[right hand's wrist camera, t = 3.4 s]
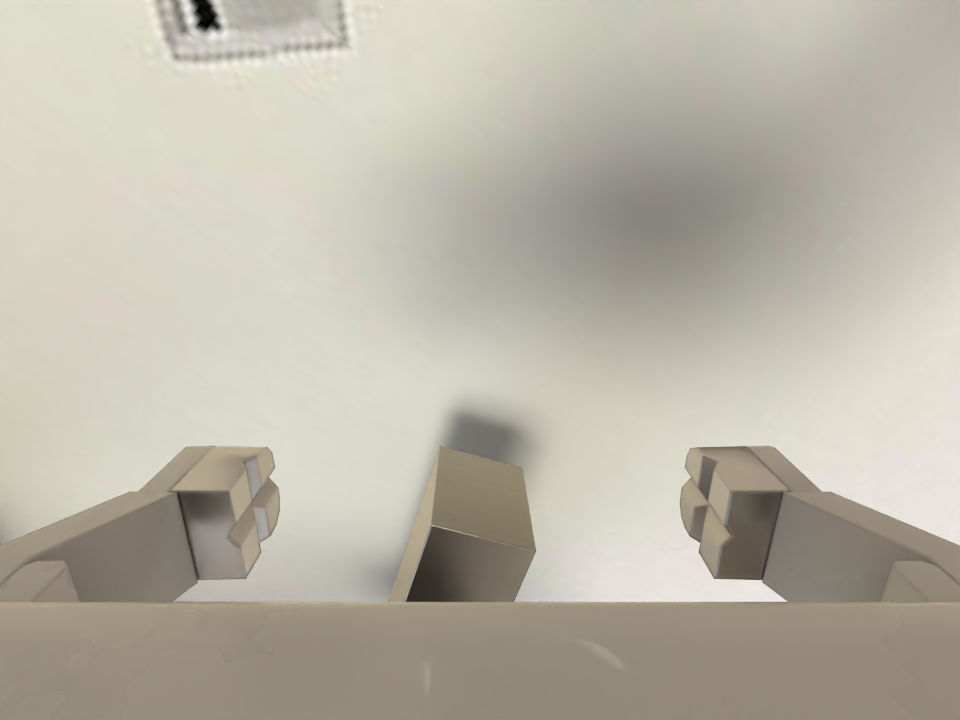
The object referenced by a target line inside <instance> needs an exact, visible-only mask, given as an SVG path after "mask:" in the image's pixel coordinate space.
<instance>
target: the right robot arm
mask: <svg viewBox="0 0 960 720" xmlns="http://www.w3.org/2000/svg"><path fill="white" fill-rule="evenodd" d="M274 469H275V464H274V459H273V454H272V452H271V450H270V449H269V448H268V447H230V446H217V447H216V446H191V447H185V448H184V449H183V450H182V451H181V452H180V453H179V454H178V455H177V456H176V457H175V458H174V459H173V460H172V461H170V462H169V463H168V464H167V465H166V466H165V467H164V468H163V469H162V470H161V471H160V472H159V473H158V474H157V475H155V476H154V477H153V478H152V479H151V480H150V481H149V482H148V483H147V484H146V485H145V486H144V487H143V488H142V489H141V490H139V491H138V492H128V493H125V494H123V495H121V496H118V497H116V498H113V499H111V500H109V501H106V502H104V503H101V504H99V505H97V506H94V507H92V508H89V509H87V510H84V511H82V512H80V513H77V514H75V515H72V516H70V517H68V518H65V519H63V520H60V521H58V522H56V523H53V524H51V525H48V526H46V527H44V528H41V529H39V530H36V531H34V532H32V533H29V534H27V535H24V536H22V537H19V538H17V539H15V540H12V541H10V542H7V543H5V544H3V545H0V720H960V546H959V545H957V544H955V543H952V542H950V541H947V540H945V539H943V538H940V537H938V536H935V535H933V534H931V533H928V532H926V531H923V530H921V529H919V528H916V527H914V526H911V525H909V524H907V523H904V522H902V521H899V520H897V519H895V518H892V517H890V516H887V515H885V514H883V513H880V512H878V511H875V510H873V509H871V508H868V507H866V506H863V505H861V504H859V503H856V502H854V501H851V500H849V499H847V498H844V497H842V496H839V495H837V494H835V493H832V492H822V491H821V490H820V489H818V488H817V487H816V486H815V485H814V484H813V483H812V482H811V481H810V480H809V479H808V478H807V477H806V476H805V475H804V474H802V473H801V472H800V471H799V470H798V469H797V468H796V467H795V466H794V465H793V464H792V463H791V462H790V461H789V460H788V459H786V458H785V457H784V456H783V455H782V454H781V453H780V452H779V451H778V450H777V449H776V448H774V447H771V446H737V447H696V448H690V450H689V452H688V454H687V458H686V463H685V469H686V470H687V472H688V473H689V475H690V476H691V478H690V479H689V480H688V481H687V482H686V483H685V484H684V485H683V487H682V489H681V497H680V509H681V517H682V520H683V524H684V527H685V529H686V530H687V532H688V534H689V536H690V537H692V538H694V539H695V540H697V541H698V542H700V549H699V554H700V555H701V557H702V559H703V560H704V562H705V564H706V566H707V567H708V569H709V571H710V573H711V574H712V576H713V578H714V579H746V580H763V581H762V582H763V583H764V584H765V585H767V586H768V587H769V588H771V589H772V590H773V591H775V592H776V593H777V594H779V595H780V596H781V597H783V598H784V599H785V600H787V601H788V602H172V601H174V600H175V599H176V598H178V597H179V596H180V595H182V594H183V593H184V592H186V591H187V590H188V589H189V588H191V587H192V586H193V585H195V584H196V583H197V582H198V581H197V580H214V579H246V578H247V576H248V574H249V573H250V571H251V569H252V567H253V566H254V564H255V562H256V560H257V559H258V557H259V555H260V554H261V549H260V542H262V541H263V540H265V539H266V538H268V537H270V536H271V534H272V532H273V530H274V528H275V527H276V524H277V520H278V516H279V511H280V496H279V489H278V487H277V485H276V484H275V483H274V482H273V481H272V480H271V479H270V478H269V476H270V475H271V473H272V472H273V470H274Z"/></svg>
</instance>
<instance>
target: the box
mask: <svg viewBox="0 0 960 720" xmlns="http://www.w3.org/2000/svg"><path fill="white" fill-rule="evenodd" d="M535 552H536V548H535V542H534V536H533V530H532V524H531V518H530V512H529V506H528V500H527V494H526V488H525V482H524V476H523V470H522V468H521V467H517V466H513V465H510V464H506V463H502V462H499V461H495V460H491V459H488V458H484V457H480V456H476V455H473V454H469V453H465V452H462V451H458V450H454V449H451V448H447V447H443V446H440V447H439V450H438V453H437V456H436V459H435V462H434V465H433V468H432V471H431V474H430V477H429V480H428V483H427V486H426V489H425V492H424V495H423V498H422V501H421V504H420V507H419V510H418V513H417V516H416V519H415V522H414V525H413V528H412V531H411V534H410V537H409V540H408V543H407V546H406V549H405V552H404V555H403V558H402V561H401V564H400V567H399V570H398V573H397V576H396V579H395V582H394V585H393V588H392V591H391V594H390V597H389V600H388V602H514V600H515V598H516V595H517V593H518V591H519V589H520V586H521V584H522V582H523V580H524V577H525V575H526V573H527V570H528V568H529V566H530V564H531V561H532V559H533V557H534V554H535Z"/></svg>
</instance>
